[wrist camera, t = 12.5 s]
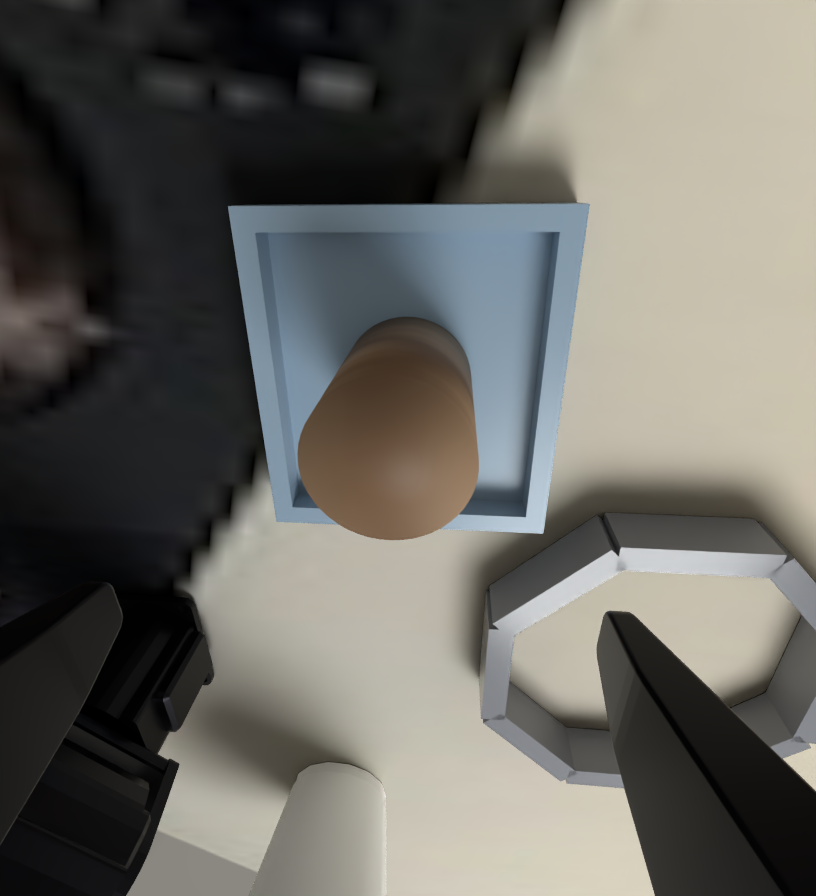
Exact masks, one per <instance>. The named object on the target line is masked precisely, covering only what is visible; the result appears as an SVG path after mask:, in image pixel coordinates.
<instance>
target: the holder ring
mask: <svg viewBox="0 0 816 896" xmlns="http://www.w3.org/2000/svg"><path fill="white" fill-rule="evenodd" d="M622 571H636V572H656V573H676V574H696V575H716V576H736V577H756V578H769V579H770V580H771V581H772V582H773V583H774V584H775V585H776V586H777V588H778V589H779V590H780V591H781V592H782V593H783V594H784V595H785V597H786V598H787V599H788V600H789V601H790V602H791V603H792V604H793V606H794V607H795V608H796V609H797V610H798V611H799V612H800V613H801V614H802V617H801V619H800V621H799V623H798V625H797V627H796V629H795V631H794V634H793V636H792V638H791V640H790V642H789V644H788V646H787V648H786V650H785V653H784V655H783V657H782V659H781V661H780V663H779V665H778V667H777V669H776V672H775V674H774V676H773V678H772V680H771V682H770V684H769V686H768V689H767V691H766V693H764V694H762V695H759V696H757V697H755V698H752V699H750V700H748V701H746V702H743V703H741V704H739V705H736V706H734V707H732V708H731V709H732V710H733V711H734V712H735V713H736V714H737V715H738V716H739V717H740V718H741V719H742V720H743V721H744V722H745V723H746V724H747V725H748V726H749V727H750V728H751V729H752V730H753V731H754V732H755V733H756V734H757V735H758V736H759V737H760V738H762V739H763V740H764V741H765V742H766V743H767V744H768V745H769V746H770V747H771V748H772V749H773V750H774V751H775V752H776V753H777V754H778V755H779V756H780V757H781V758H782V759H783V758H785V757H788V756H791V755H793V754H796V753H799V752H801V751H804V750H806V749H809V748H811V747H810V745H809V743H813V744H816V583H815V582H814V581H813V580H812V578H811V577H810V576H809V575H808V574H807V572H806V571H805V570H804V569H803V568H802V567H801V565H800V564H799V563H798V562H797V561H796V560H795V558H794V557H793V556H792V555H791V554H790V553H789V552H788V551H787V550H786V549H785V547H784V546H783V545H782V544H781V543H780V542H779V541H778V540H777V539H776V538H775V537H774V535H773V534H772V533H771V532H770V531H769V530H768V529H767V528H766V527H765V526H764V524H763V523H762V522H760V523H757V521H756V520H755V519H748V518H724V517H700V516H676V515H652V514H627V513H605V515H604V519H603V521H602V520H601V519H600V518H599V517H598V516H597V515H596V516H594V517H593V518H591V519H590V520H588V521H587V522H585V523H584V524H582V525H581V526H579V527H578V528H576V529H575V530H573V531H572V532H570V533H569V534H567V535H566V536H564V537H563V538H561V539H560V540H558V541H557V542H555V543H554V544H552V545H551V546H549V547H548V548H546V549H544V550H543V551H541V552H540V553H538V554H537V555H535V556H534V557H532V558H531V559H529V560H528V561H526V562H525V563H523V564H522V565H520V566H519V567H517V568H516V569H514V570H513V571H511V572H510V573H508V574H507V575H505V576H504V577H502V578H501V579H499V580H498V581H496V582H495V583H493V584H492V585H490V591H486V599H485V611H484V623H483V635H482V648H481V660H480V672H479V687H480V709H481V719H483V723H484V724H485V725H487V726H488V727H489V728H491V729H492V730H493V731H495V732H496V733H497V734H499V735H500V736H501V737H503V738H504V739H505V740H507V741H508V742H509V743H510V744H512V745H513V746H514V747H516V748H517V749H518V750H520V751H521V752H522V753H524V754H525V755H526V756H528V757H529V758H530V759H532V760H533V761H534V762H536V763H537V764H538V765H540V766H541V767H542V768H544V769H545V770H546V771H548V772H549V773H550V774H552V775H553V776H554V777H555V778H557V779H558V780H559V781H563V780H565V779H566V783H567V784H579V785H591V786H603V787H615V788H624V786H623V782H622V779H621V775H620V772H619V768H618V765H617V761H616V757H615V753H614V749H613V744H612V739H611V734H610V731H606V730H593V729H580V728H566V727H565V726H564V725H563V724H561V723H560V722H559V721H558V720H556V719H555V718H554V717H553V716H551V715H550V714H549V713H548V712H546V711H545V710H544V709H543V708H541V707H540V706H539V705H538V704H537V703H535V702H534V701H533V700H532V699H530V698H529V697H528V696H527V695H525V694H524V693H523V692H522V691H520V690H519V689H518V688H517V687H515V686H514V685H513V684H512V683H510V682H509V678H510V670H511V662H512V654H513V646H514V638H515V635H517V634H518V633H520V632H522V631H523V630H525V629H527V628H528V627H530V626H532V625H533V624H535V623H537V622H538V621H540V620H542V619H543V618H545V617H547V616H548V615H550V614H552V613H553V612H555V611H557V610H558V609H560V608H562V607H563V606H565V605H567V604H568V603H570V602H572V601H573V600H575V599H577V598H579V597H580V596H582V595H584V594H585V593H587V592H589V591H590V590H592V589H594V588H595V587H597V586H599V585H600V584H602V583H604V582H605V581H607V580H609V579H610V578H612V577H614V576H615V575H617V574H619V573H620V572H622Z"/></svg>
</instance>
